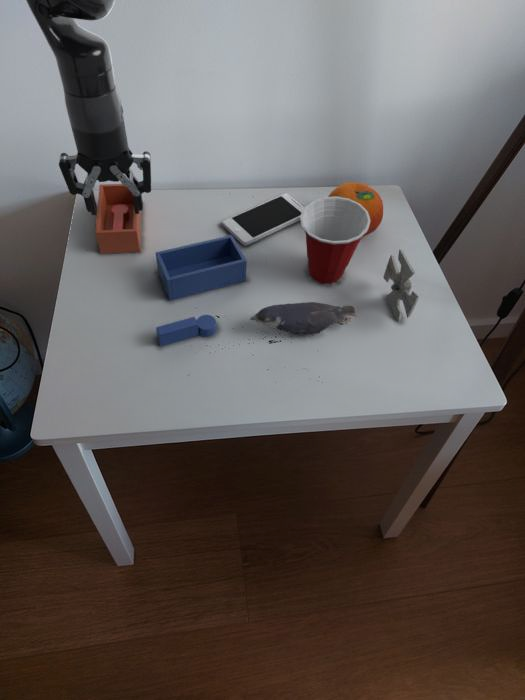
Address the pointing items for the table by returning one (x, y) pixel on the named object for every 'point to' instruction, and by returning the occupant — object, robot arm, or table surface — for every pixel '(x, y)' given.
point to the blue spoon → (186, 329)
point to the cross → (400, 285)
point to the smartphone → (264, 219)
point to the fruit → (363, 201)
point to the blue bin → (201, 267)
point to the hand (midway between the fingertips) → (116, 211)
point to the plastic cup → (332, 235)
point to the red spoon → (120, 216)
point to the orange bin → (104, 224)
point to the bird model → (304, 317)
